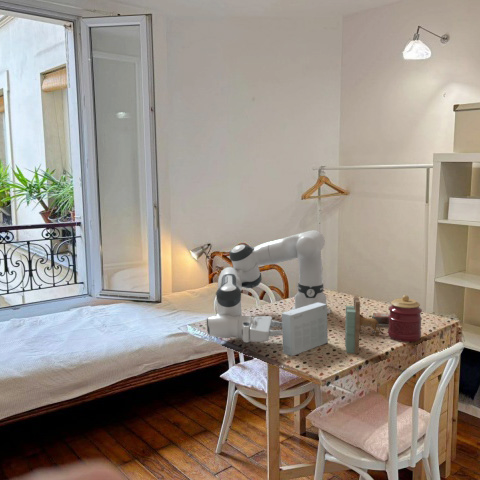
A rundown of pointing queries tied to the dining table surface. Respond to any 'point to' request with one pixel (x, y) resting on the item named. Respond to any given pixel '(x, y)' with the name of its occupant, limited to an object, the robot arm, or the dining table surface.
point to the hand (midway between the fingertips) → (282, 328)
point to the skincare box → (304, 328)
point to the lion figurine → (369, 324)
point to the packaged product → (381, 319)
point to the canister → (405, 320)
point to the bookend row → (352, 327)
